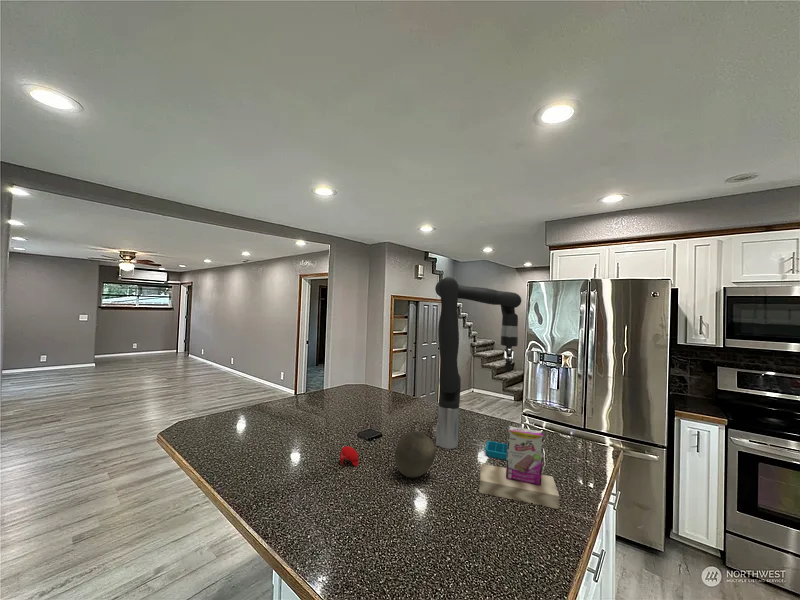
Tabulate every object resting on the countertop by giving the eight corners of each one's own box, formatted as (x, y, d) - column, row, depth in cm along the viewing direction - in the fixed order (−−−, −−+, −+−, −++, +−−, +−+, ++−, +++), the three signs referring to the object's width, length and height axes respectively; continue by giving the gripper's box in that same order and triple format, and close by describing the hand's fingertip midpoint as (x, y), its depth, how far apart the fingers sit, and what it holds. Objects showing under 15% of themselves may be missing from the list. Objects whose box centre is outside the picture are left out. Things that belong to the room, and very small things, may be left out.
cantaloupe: (405, 489, 107) (408, 442, 108) (387, 469, 120) (389, 428, 120) (441, 481, 113) (443, 437, 114) (420, 463, 126) (422, 424, 127)
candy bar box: (505, 479, 109) (507, 429, 110) (505, 472, 114) (507, 425, 115) (542, 486, 106) (543, 435, 106) (540, 479, 110) (542, 430, 111)
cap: (333, 455, 121) (344, 451, 119) (341, 445, 127) (352, 440, 124) (346, 473, 122) (357, 468, 119) (353, 461, 127) (364, 457, 124)
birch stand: (479, 492, 107) (479, 480, 108) (481, 474, 120) (481, 463, 120) (558, 509, 100) (559, 495, 101) (552, 488, 113) (552, 476, 113)
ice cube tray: (536, 467, 129) (537, 459, 129) (484, 457, 136) (485, 450, 136) (535, 456, 140) (535, 449, 140) (487, 447, 147) (487, 440, 147)
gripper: (500, 334, 160) (499, 367, 160) (501, 335, 147) (499, 371, 146) (517, 335, 158) (515, 369, 157) (518, 336, 145) (517, 373, 144)
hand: (508, 370), depth 152 cm, fingers open, 8 cm apart
